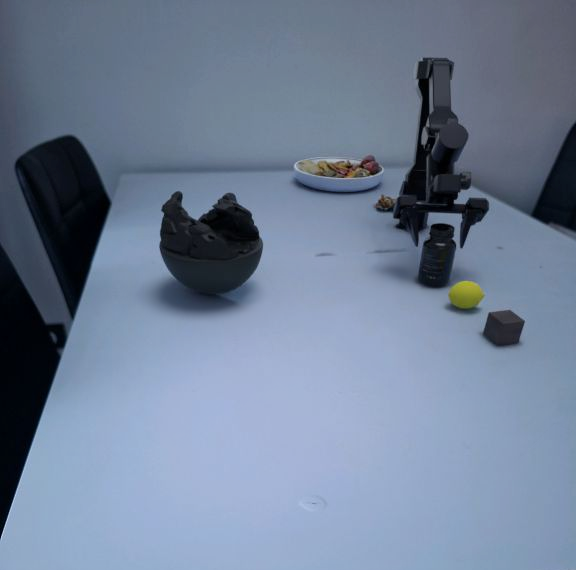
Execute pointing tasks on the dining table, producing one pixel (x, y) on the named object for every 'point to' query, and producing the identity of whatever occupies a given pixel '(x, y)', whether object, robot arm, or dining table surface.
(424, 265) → the supplement bottle
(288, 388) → the dining table surface
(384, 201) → the brown mottled lump
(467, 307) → the lemon
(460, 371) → the dining table surface
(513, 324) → the walnut block
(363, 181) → the bowl
